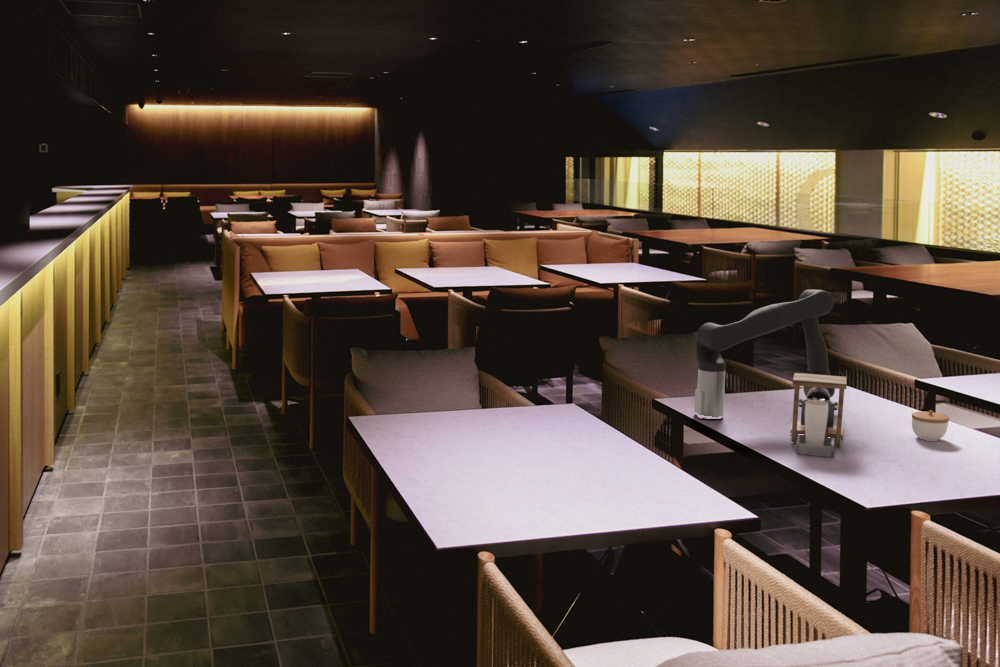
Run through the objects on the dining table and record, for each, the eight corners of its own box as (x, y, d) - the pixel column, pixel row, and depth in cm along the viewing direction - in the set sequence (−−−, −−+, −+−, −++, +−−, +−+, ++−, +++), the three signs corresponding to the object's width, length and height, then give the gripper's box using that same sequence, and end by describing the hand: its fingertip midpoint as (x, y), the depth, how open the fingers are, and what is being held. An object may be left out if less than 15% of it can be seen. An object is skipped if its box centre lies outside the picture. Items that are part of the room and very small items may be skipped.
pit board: (842, 439, 277) (842, 434, 277) (790, 433, 283) (790, 429, 282) (842, 429, 288) (842, 425, 288) (791, 424, 294) (792, 420, 293)
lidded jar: (912, 441, 274) (915, 413, 273) (907, 432, 285) (910, 405, 283) (949, 444, 271) (952, 415, 270) (943, 435, 282) (946, 407, 280)
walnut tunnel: (842, 449, 266) (846, 384, 263) (788, 443, 272) (792, 379, 268) (841, 439, 277) (846, 376, 273) (790, 434, 282) (794, 372, 279)
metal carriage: (833, 457, 257) (835, 422, 255) (795, 453, 261) (798, 419, 259) (833, 434, 280) (835, 403, 278) (799, 431, 284) (801, 400, 282)
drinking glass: (824, 446, 268) (827, 400, 265) (827, 453, 261) (830, 406, 258) (801, 444, 269) (804, 398, 266) (803, 452, 263) (806, 405, 260)
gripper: (798, 386, 299) (797, 397, 283) (839, 389, 294) (840, 401, 278) (797, 407, 300) (795, 419, 284) (838, 411, 295) (838, 423, 279)
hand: (817, 410), depth 281 cm, fingers closed
